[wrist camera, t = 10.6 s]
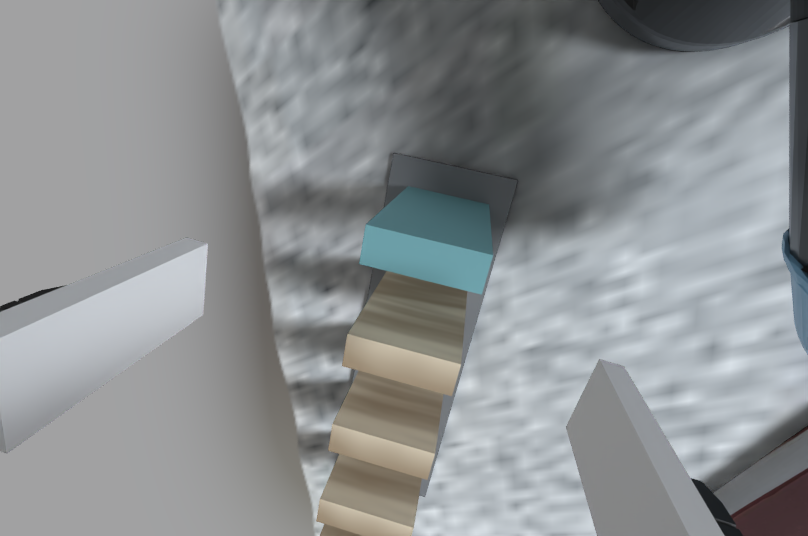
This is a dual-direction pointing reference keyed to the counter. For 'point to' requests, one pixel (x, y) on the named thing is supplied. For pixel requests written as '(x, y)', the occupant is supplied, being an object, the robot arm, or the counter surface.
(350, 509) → the light wood flat block
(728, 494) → the book
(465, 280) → the tile
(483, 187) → the runner mat
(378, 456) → the beige wooden block
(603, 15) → the counter surface
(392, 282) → the light wood flat block
